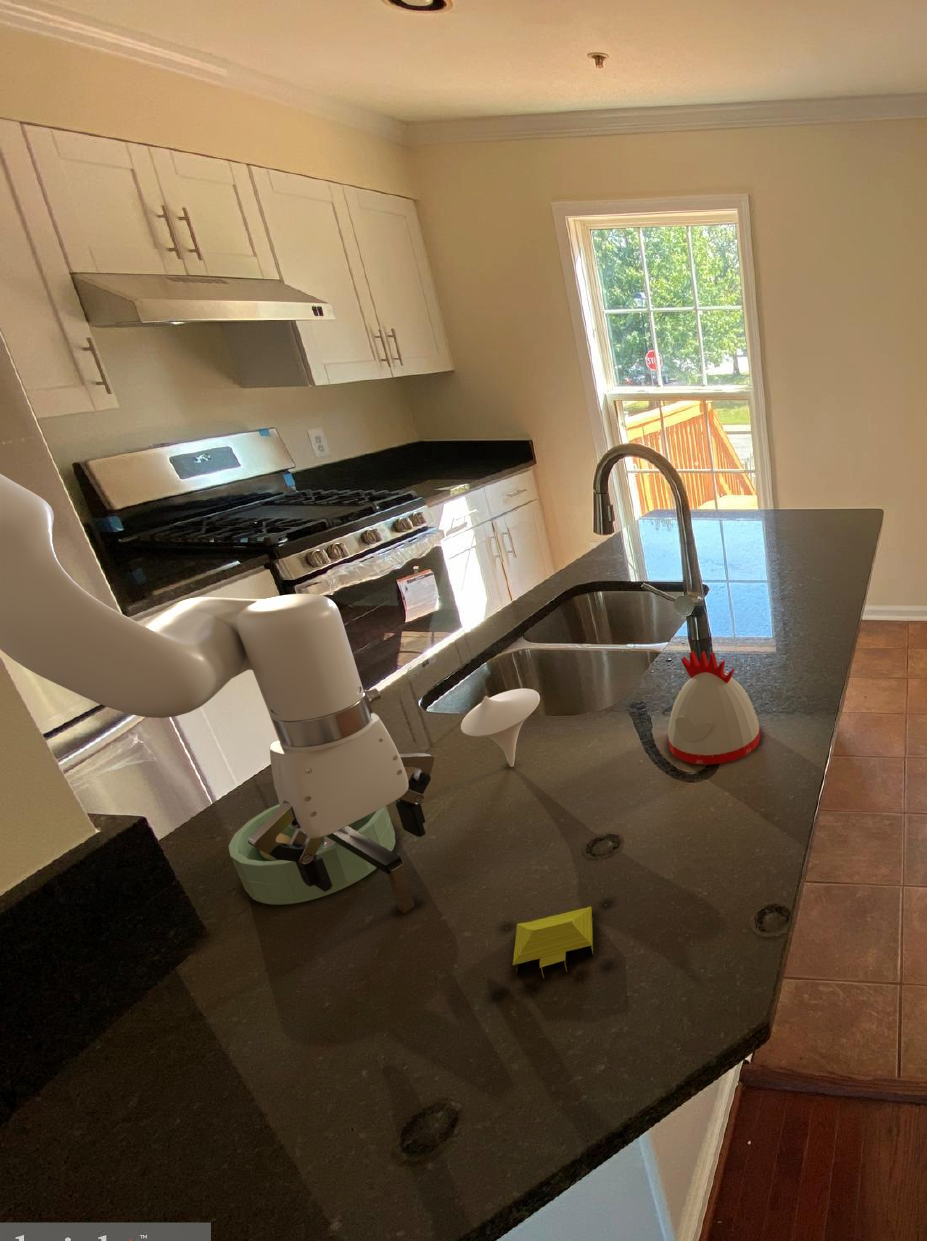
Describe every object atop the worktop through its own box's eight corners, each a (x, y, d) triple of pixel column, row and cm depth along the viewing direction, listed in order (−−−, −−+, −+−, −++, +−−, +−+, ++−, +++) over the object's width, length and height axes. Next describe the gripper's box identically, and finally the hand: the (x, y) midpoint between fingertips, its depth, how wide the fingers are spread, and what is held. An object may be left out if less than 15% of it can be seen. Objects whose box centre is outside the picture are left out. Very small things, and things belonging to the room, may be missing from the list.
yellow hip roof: (606, 905, 76) (603, 885, 75) (609, 970, 68) (605, 949, 67) (506, 929, 73) (501, 908, 72) (497, 1000, 65) (491, 978, 64)
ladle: (288, 860, 81) (271, 814, 78) (335, 836, 85) (320, 791, 82) (386, 925, 73) (370, 876, 70) (432, 895, 77) (419, 848, 74)
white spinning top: (482, 796, 94) (462, 719, 89) (465, 761, 102) (447, 688, 97) (561, 770, 100) (547, 697, 95) (540, 739, 108) (526, 670, 103)
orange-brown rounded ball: (277, 864, 82) (260, 845, 82) (303, 846, 83) (286, 827, 83) (265, 866, 79) (247, 846, 79) (291, 848, 80) (274, 828, 80)
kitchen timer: (696, 713, 116) (688, 630, 110) (773, 725, 113) (769, 640, 107) (651, 756, 104) (640, 665, 98) (736, 771, 100) (729, 678, 94)
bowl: (220, 876, 79) (203, 838, 77) (354, 809, 91) (342, 774, 89) (287, 922, 73) (270, 882, 71) (421, 844, 85) (410, 807, 83)
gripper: (391, 677, 77) (427, 805, 84) (196, 750, 63) (259, 896, 70) (432, 692, 74) (467, 824, 80) (237, 773, 60) (299, 923, 66)
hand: (370, 857), depth 75 cm, fingers open, 9 cm apart
